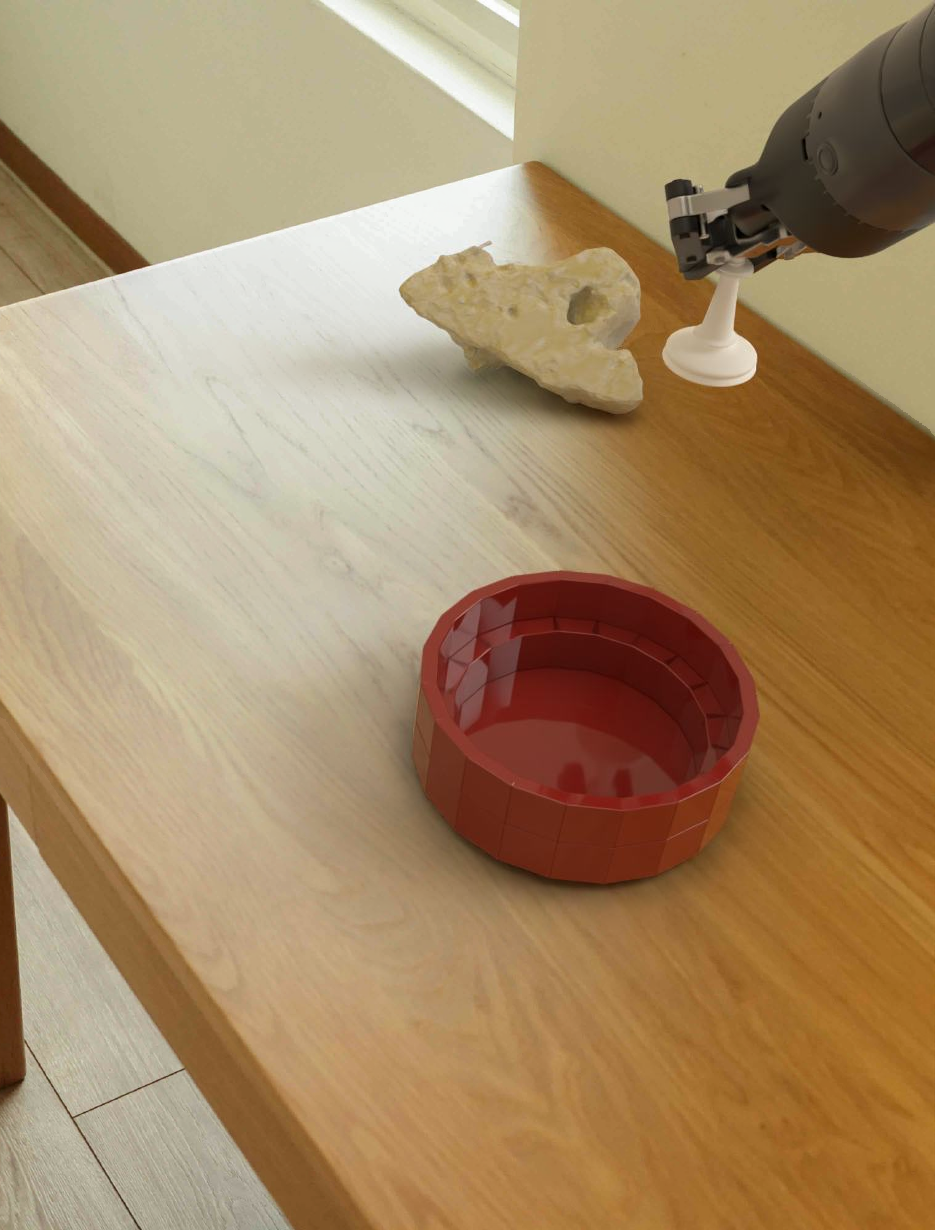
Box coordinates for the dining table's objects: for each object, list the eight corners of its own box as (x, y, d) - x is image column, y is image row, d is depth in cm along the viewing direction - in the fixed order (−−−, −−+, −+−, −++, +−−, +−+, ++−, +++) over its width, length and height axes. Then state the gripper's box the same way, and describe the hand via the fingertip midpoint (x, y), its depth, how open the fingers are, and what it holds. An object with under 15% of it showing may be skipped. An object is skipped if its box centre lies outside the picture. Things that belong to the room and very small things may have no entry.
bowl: (658, 635, 88) (679, 555, 84) (785, 862, 76) (817, 782, 72) (377, 671, 84) (385, 589, 80) (463, 914, 73) (477, 832, 69)
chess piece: (724, 398, 79) (771, 220, 72) (643, 360, 81) (682, 184, 74) (773, 362, 82) (823, 187, 75) (694, 326, 84) (735, 154, 77)
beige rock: (666, 394, 109) (566, 208, 109) (701, 372, 102) (594, 173, 102) (480, 493, 108) (379, 304, 108) (503, 478, 100) (394, 275, 100)
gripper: (1035, 41, 64) (824, 181, 81) (728, 55, 61) (577, 196, 78) (1060, 218, 64) (843, 321, 81) (752, 239, 61) (595, 341, 78)
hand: (712, 259), depth 79 cm, fingers closed on chess piece
